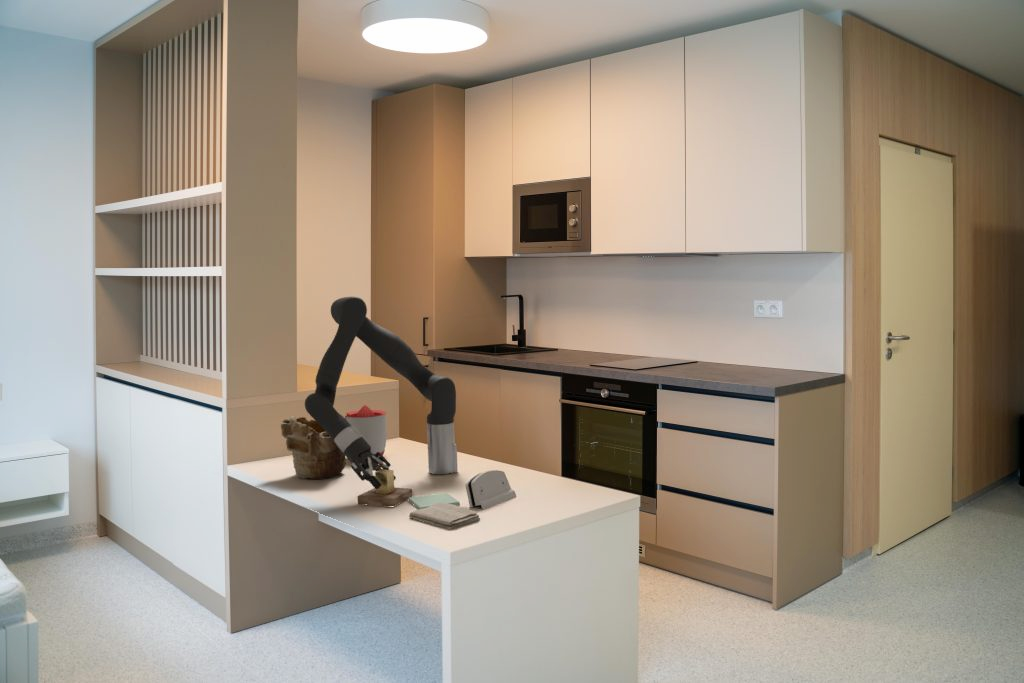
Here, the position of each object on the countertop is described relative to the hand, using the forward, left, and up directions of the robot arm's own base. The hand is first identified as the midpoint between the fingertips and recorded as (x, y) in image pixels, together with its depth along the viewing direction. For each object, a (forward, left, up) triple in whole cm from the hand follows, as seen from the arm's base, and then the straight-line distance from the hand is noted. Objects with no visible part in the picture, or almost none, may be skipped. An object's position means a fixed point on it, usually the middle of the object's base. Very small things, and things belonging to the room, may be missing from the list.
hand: (386, 483), depth 248 cm
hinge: (-27, +16, -6) cm, 32 cm away
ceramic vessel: (+11, -43, -5) cm, 44 cm away
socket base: (0, -1, -5) cm, 5 cm away
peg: (0, 0, -5) cm, 5 cm away
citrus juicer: (-9, -64, -5) cm, 64 cm away
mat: (-12, +10, -5) cm, 16 cm away
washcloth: (-9, +26, -6) cm, 29 cm away
